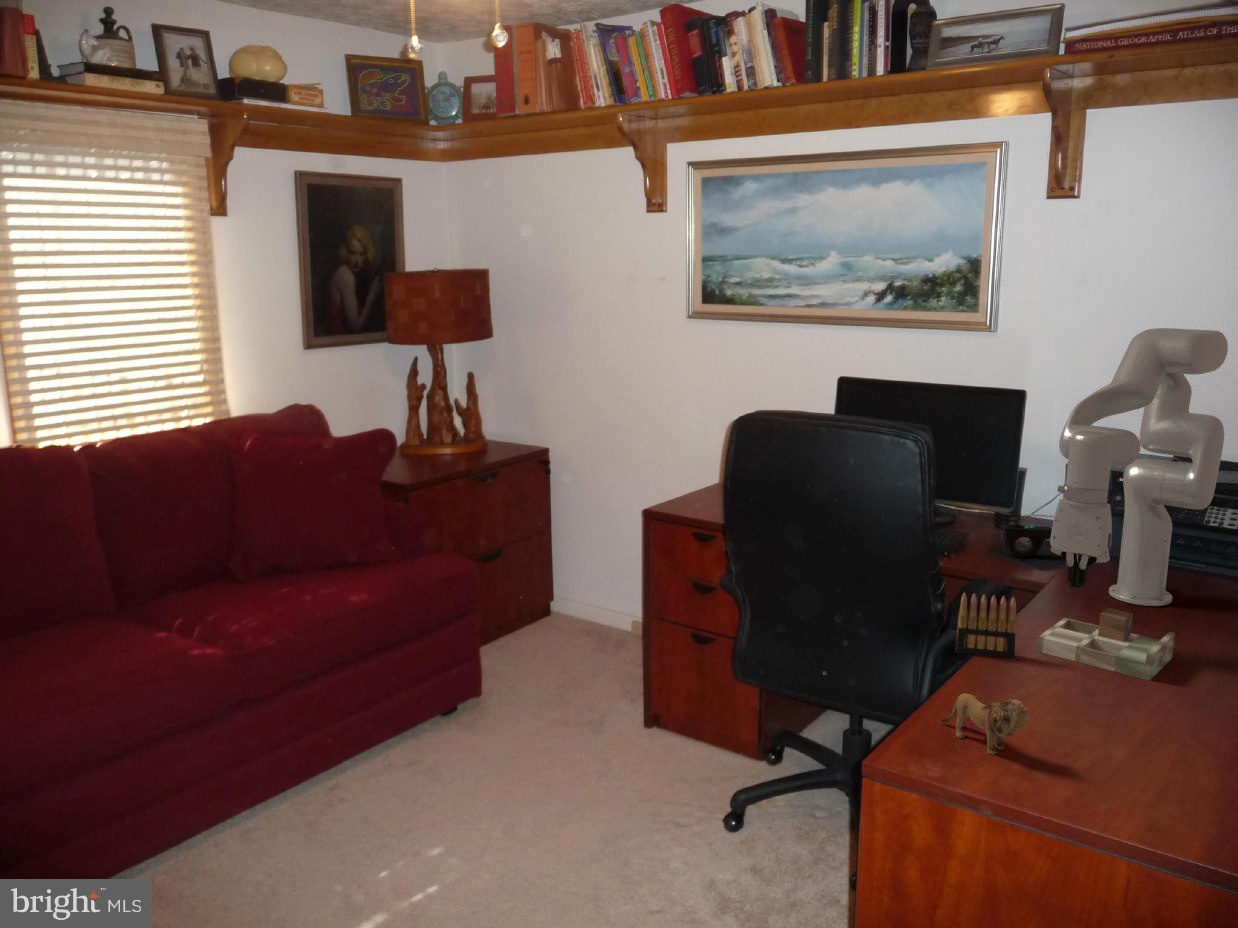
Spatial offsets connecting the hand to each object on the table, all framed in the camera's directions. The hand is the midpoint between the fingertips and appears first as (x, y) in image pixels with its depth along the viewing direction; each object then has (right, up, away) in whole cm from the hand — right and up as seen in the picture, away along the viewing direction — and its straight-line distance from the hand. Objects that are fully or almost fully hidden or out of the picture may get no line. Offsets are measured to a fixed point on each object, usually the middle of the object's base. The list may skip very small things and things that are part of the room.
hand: (1076, 585), depth 191 cm
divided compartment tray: (+3, -13, -4) cm, 14 cm away
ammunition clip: (-19, -13, -4) cm, 24 cm away
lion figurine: (-33, -20, -38) cm, 54 cm away
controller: (+14, 0, +58) cm, 60 cm away
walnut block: (+6, -9, -3) cm, 11 cm away
